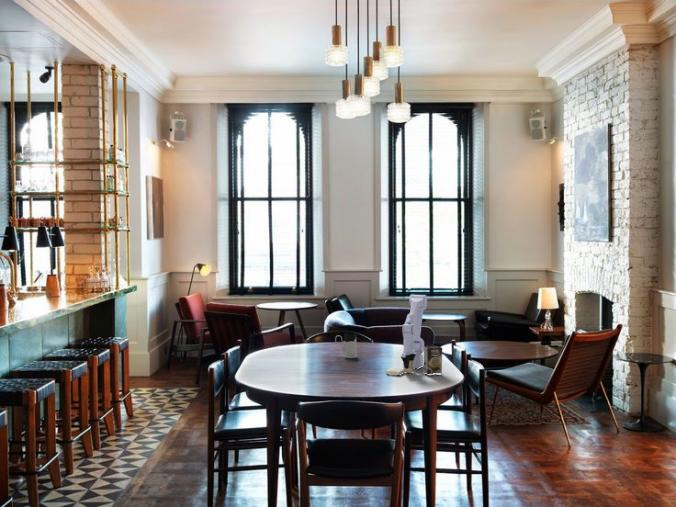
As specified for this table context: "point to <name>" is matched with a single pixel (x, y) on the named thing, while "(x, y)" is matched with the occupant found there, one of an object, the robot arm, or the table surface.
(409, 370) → the block
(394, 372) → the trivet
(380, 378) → the table surface
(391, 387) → the table surface
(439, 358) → the coffee box
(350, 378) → the table surface
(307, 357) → the table surface
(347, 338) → the glass holder
